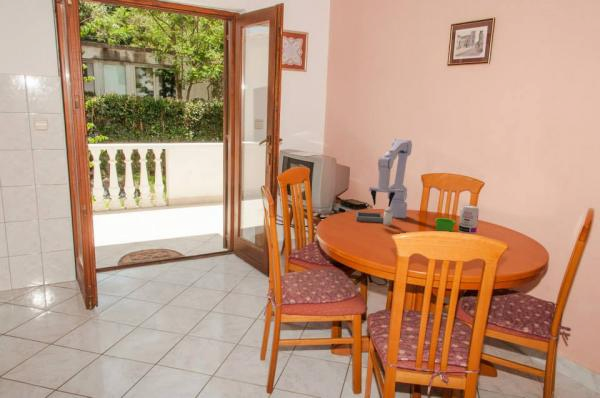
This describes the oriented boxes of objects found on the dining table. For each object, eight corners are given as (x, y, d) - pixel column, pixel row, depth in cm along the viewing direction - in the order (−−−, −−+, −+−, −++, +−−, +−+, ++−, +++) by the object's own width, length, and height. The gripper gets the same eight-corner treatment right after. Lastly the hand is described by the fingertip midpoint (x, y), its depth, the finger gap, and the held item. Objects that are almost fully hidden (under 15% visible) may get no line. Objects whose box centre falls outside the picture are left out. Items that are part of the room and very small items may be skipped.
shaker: (390, 223, 229) (392, 208, 227) (391, 225, 224) (393, 210, 223) (382, 223, 229) (383, 208, 227) (383, 225, 225) (384, 210, 223)
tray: (380, 217, 241) (380, 213, 241) (382, 222, 230) (383, 218, 229) (355, 216, 242) (356, 211, 242) (356, 221, 231) (357, 216, 230)
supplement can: (472, 234, 213) (476, 205, 210) (477, 239, 205) (481, 209, 202) (456, 233, 213) (459, 204, 210) (460, 238, 205) (463, 208, 202)
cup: (456, 246, 191) (458, 223, 189) (435, 246, 191) (438, 222, 189) (449, 241, 200) (452, 218, 198) (430, 240, 200) (432, 217, 198)
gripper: (369, 179, 220) (366, 205, 222) (397, 182, 216) (395, 208, 218) (370, 178, 226) (368, 203, 229) (398, 180, 222) (396, 206, 225)
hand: (381, 205), depth 224 cm, fingers open, 7 cm apart
